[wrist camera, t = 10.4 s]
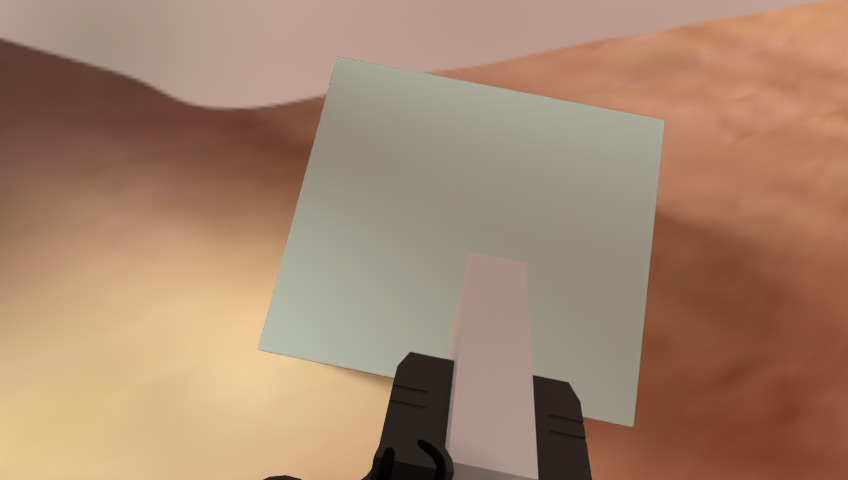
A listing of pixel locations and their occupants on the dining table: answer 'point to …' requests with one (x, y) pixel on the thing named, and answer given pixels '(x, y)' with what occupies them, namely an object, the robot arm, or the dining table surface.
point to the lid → (470, 227)
